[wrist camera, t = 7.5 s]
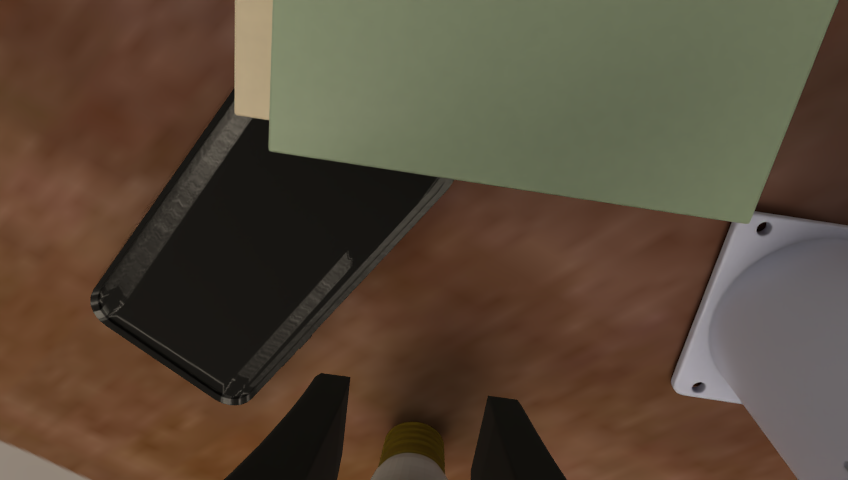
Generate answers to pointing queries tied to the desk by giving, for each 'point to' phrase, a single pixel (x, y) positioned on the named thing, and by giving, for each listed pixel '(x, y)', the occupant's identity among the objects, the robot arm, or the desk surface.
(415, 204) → the phone
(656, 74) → the cabinet
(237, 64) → the drawer
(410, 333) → the desk surface
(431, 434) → the light bulb
